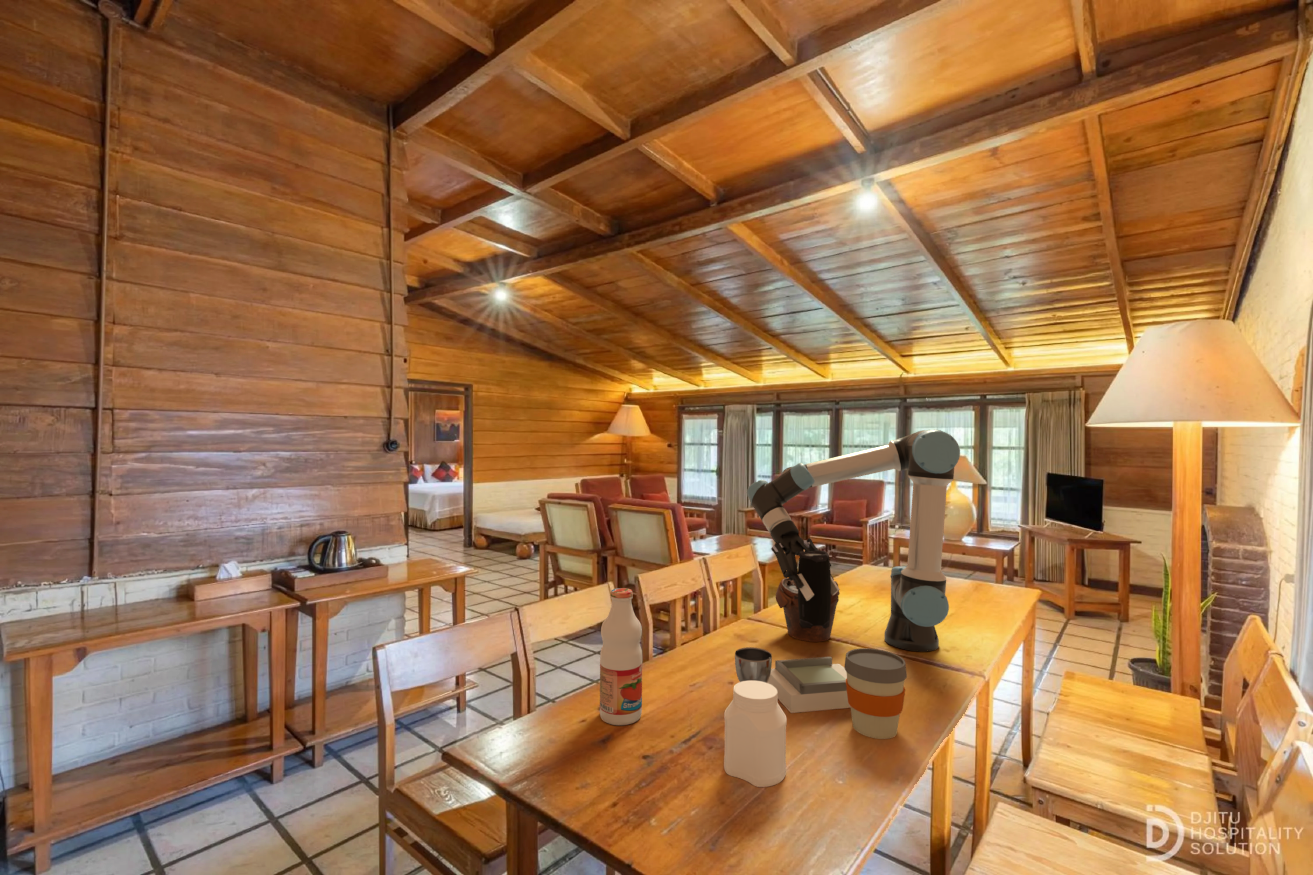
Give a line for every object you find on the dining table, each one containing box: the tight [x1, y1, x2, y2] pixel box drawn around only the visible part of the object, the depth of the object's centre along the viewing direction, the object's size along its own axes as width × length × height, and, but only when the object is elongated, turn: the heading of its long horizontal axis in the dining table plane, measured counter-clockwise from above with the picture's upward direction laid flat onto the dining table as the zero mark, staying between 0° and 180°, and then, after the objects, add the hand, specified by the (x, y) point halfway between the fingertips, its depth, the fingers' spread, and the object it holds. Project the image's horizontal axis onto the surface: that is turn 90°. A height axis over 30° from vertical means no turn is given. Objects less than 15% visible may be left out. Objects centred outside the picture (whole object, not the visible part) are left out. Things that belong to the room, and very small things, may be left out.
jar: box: [723, 680, 788, 788], centre depth 109 cm, size 12×10×15 cm
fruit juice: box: [599, 587, 643, 726], centre depth 130 cm, size 9×9×28 cm
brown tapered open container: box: [775, 577, 841, 643], centre depth 184 cm, size 18×20×18 cm
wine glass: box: [734, 646, 773, 683], centre depth 127 cm, size 8×8×15 cm
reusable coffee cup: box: [843, 648, 908, 740], centre depth 125 cm, size 13×13×15 cm
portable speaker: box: [797, 549, 832, 629], centre depth 157 cm, size 9×9×20 cm
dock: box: [767, 656, 851, 714], centre depth 141 cm, size 25×15×6 cm, turn 101°
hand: (823, 594), depth 154 cm, fingers closed on portable speaker, 9 cm apart
